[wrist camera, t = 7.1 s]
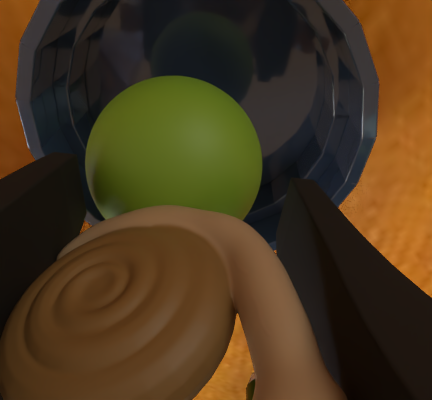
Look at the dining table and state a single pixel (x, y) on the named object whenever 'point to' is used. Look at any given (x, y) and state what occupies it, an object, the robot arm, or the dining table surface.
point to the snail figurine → (164, 266)
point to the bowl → (211, 81)
